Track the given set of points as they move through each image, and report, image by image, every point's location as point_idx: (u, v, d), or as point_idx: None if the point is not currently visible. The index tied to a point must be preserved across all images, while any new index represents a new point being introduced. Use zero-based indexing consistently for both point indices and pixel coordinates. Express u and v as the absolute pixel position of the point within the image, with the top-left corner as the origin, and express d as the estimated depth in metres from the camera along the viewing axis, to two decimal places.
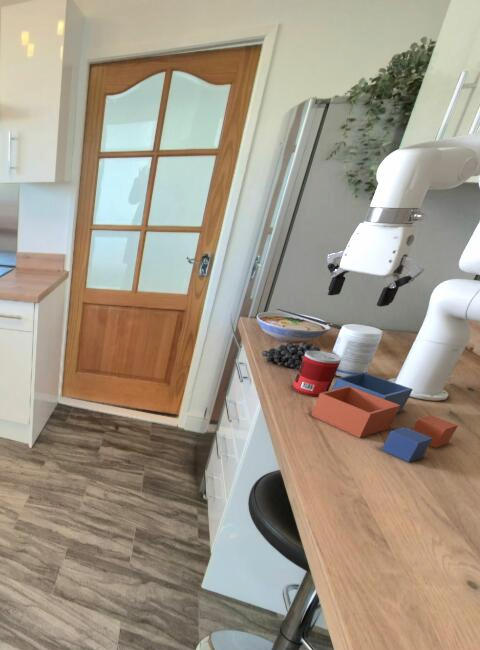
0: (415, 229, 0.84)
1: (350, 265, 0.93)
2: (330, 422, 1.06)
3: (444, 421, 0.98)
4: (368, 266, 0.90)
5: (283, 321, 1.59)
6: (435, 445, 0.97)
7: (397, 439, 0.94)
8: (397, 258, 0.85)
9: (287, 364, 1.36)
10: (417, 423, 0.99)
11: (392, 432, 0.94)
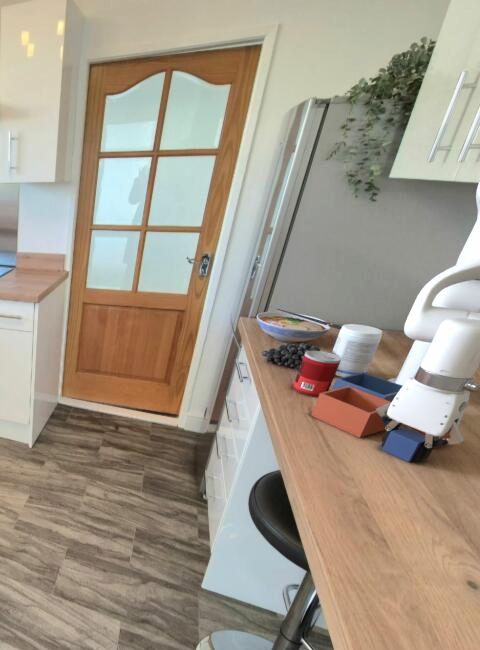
0: (468, 396, 0.84)
1: (398, 417, 0.93)
2: (330, 422, 1.06)
3: None
4: (418, 423, 0.90)
5: (283, 321, 1.59)
6: None
7: (397, 439, 0.94)
8: (449, 422, 0.86)
9: (287, 364, 1.36)
10: None
11: (392, 432, 0.94)
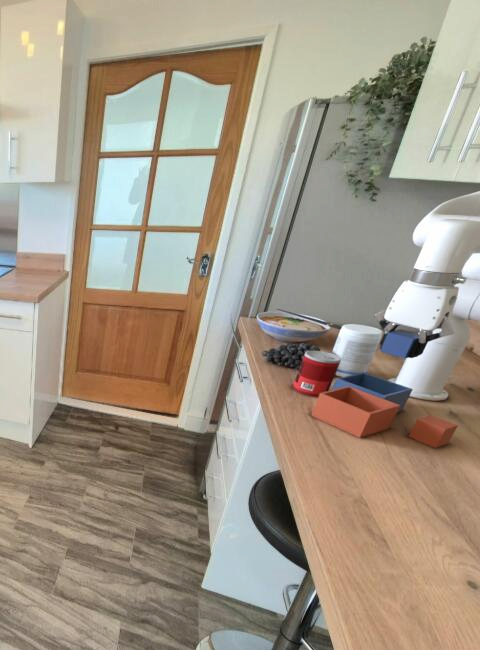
0: (457, 290, 0.93)
1: (394, 318, 1.02)
2: (330, 422, 1.06)
3: (444, 421, 0.98)
4: (412, 320, 0.99)
5: (283, 321, 1.59)
6: (435, 445, 0.97)
7: (393, 339, 1.03)
8: (440, 316, 0.95)
9: (287, 364, 1.36)
10: (417, 423, 0.99)
11: (389, 333, 1.03)
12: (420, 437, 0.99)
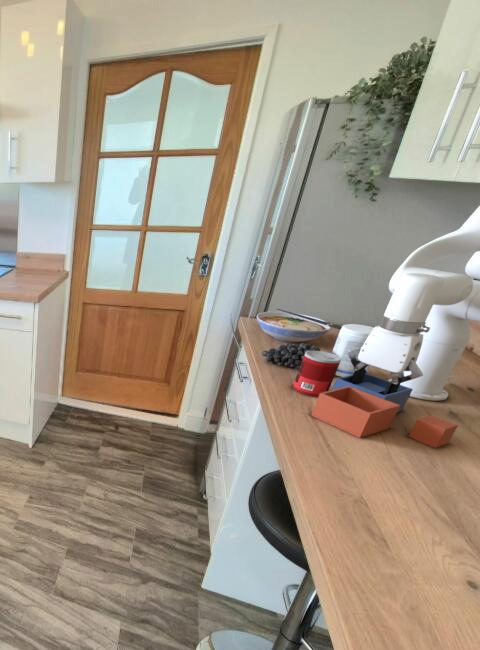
0: (421, 338, 1.02)
1: (367, 359, 1.11)
2: (330, 422, 1.06)
3: (444, 421, 0.98)
4: (382, 363, 1.08)
5: (283, 321, 1.59)
6: (435, 445, 0.97)
7: None
8: (406, 360, 1.04)
9: (287, 364, 1.36)
10: (417, 423, 0.99)
11: None
12: (420, 437, 0.99)
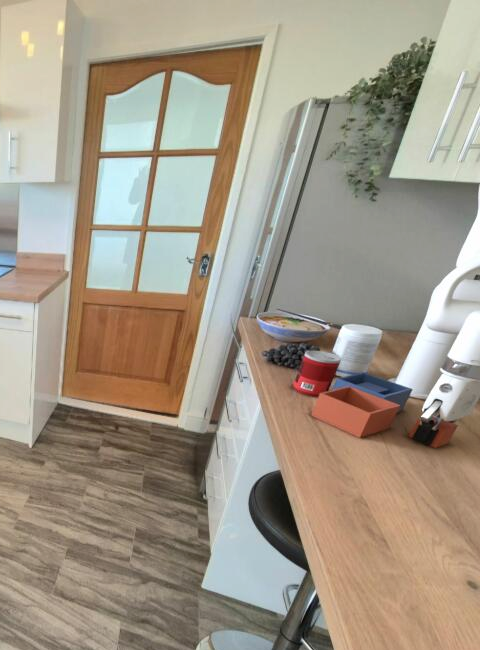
0: (455, 381, 0.91)
1: None
2: (330, 422, 1.06)
3: (444, 421, 0.98)
4: None
5: (283, 321, 1.59)
6: (435, 445, 0.97)
7: None
8: (428, 398, 0.95)
9: (287, 364, 1.36)
10: (417, 423, 0.99)
11: None
12: None
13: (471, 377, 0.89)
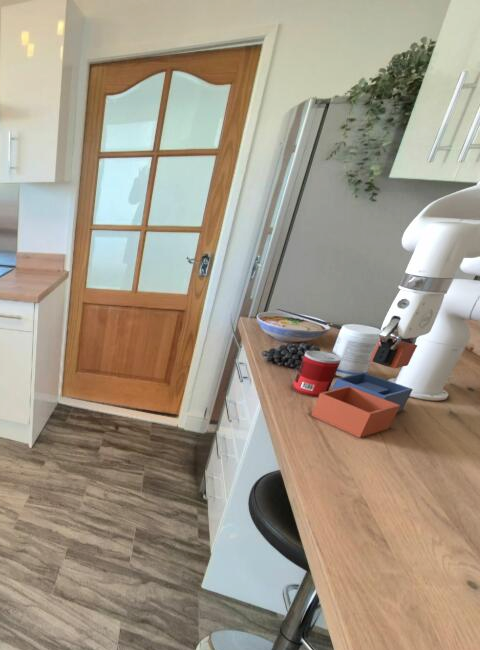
0: (412, 295, 0.90)
1: None
2: (330, 422, 1.06)
3: (404, 342, 0.97)
4: None
5: (283, 321, 1.59)
6: (394, 365, 0.96)
7: None
8: (386, 316, 0.94)
9: (287, 364, 1.36)
10: (377, 345, 0.98)
11: None
12: None
13: (427, 290, 0.89)
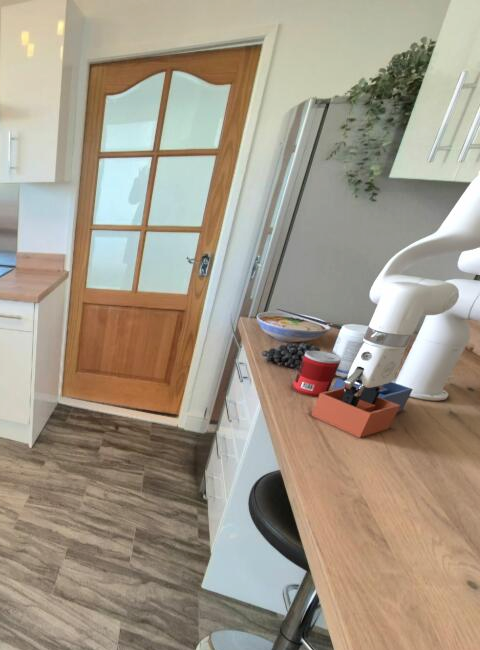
0: (374, 349, 0.96)
1: None
2: (330, 422, 1.06)
3: (363, 402, 1.05)
4: None
5: (283, 321, 1.59)
6: None
7: None
8: (352, 366, 1.01)
9: (287, 364, 1.36)
10: None
11: None
12: None
13: (388, 345, 0.95)
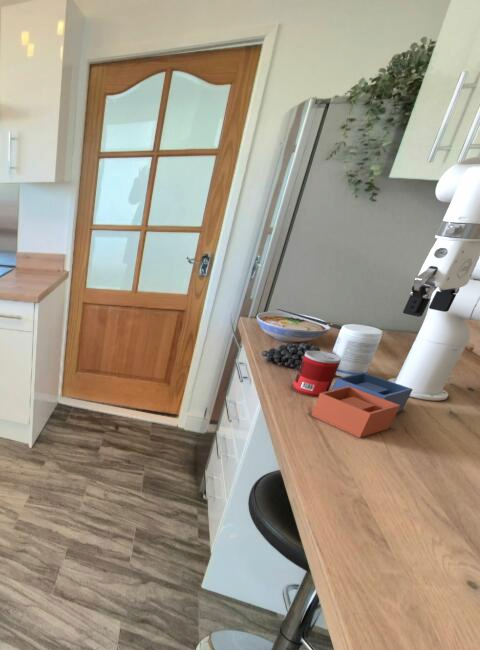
0: (450, 243, 0.87)
1: None
2: (330, 422, 1.06)
3: (363, 402, 1.05)
4: None
5: (283, 321, 1.59)
6: None
7: None
8: (422, 268, 0.91)
9: (287, 364, 1.36)
10: None
11: None
12: None
13: (467, 237, 0.85)
